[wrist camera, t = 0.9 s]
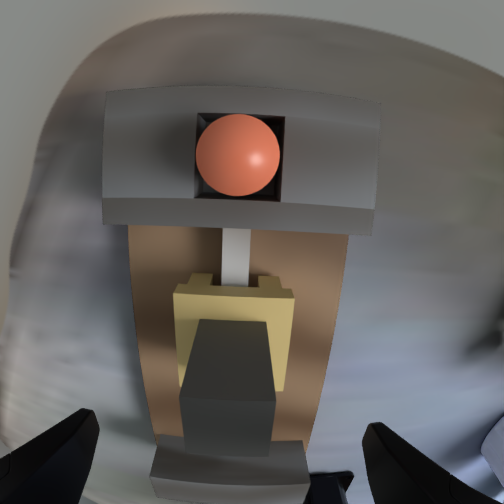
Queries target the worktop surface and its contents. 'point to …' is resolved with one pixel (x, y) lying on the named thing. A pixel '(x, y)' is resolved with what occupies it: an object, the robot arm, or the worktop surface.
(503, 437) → the soap bottle
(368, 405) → the worktop surface
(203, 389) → the carriage
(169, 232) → the rail board
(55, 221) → the worktop surface
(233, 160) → the orange ball
